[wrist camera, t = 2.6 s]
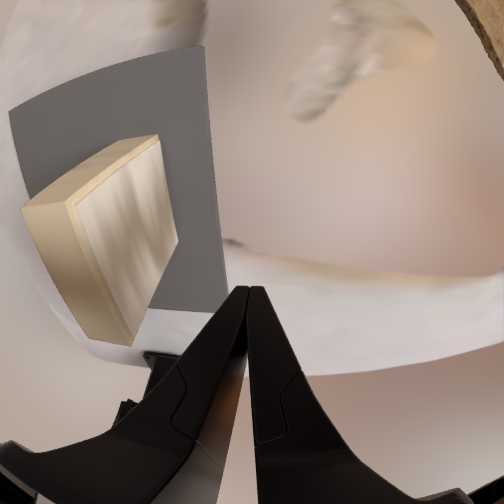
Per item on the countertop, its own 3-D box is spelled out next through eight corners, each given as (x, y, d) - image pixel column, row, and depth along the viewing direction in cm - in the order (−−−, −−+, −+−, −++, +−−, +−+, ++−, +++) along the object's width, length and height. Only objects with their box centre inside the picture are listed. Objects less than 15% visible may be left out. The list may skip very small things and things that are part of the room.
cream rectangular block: (180, 242, 17) (135, 347, 11) (140, 242, 18) (85, 337, 11) (161, 133, 13) (68, 201, 7) (115, 140, 13) (17, 208, 7)
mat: (230, 307, 21) (229, 313, 21) (78, 295, 23) (75, 299, 22) (204, 46, 11) (201, 45, 10) (13, 109, 12) (8, 111, 12)
